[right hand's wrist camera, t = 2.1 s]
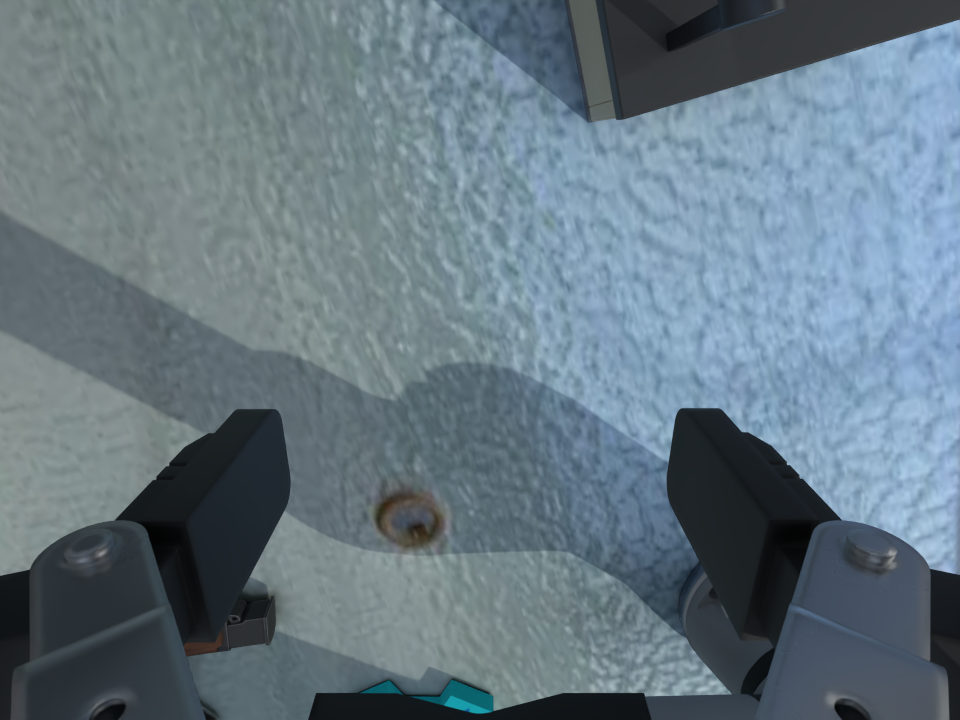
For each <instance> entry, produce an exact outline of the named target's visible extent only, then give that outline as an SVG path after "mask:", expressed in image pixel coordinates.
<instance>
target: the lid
mask: <svg viewBox="0 0 960 720" xmlns="http://www.w3.org/2000/svg"><path fill="white" fill-rule="evenodd" d="M595 1H596V6H597V12H598V18H599V24H600V29H601V35H602V41H603V47H604V53H605V58H606V64H607V70H608V76H609V81H610V87H611V93H612V99H613V105H614V110H615V116H616V119H617V120H622V119H627V118H630V117H634V116H637V115H640V114H644V113H647V112H650V111H654V110H657V109H660V108H664V107H667V106H671V105H674V104H677V103H681V102H684V101H687V100H691V99H694V98H697V97H701V96H704V95H707V94H711V93H714V92H718V91H721V90H724V89H728V88H731V87H734V86H738V85H741V84H744V83H748V82H751V81H755V80H758V79H761V78H765V77H768V76H771V75H775V74H778V73H781V72H785V71H788V70H792V69H795V68H798V67H802V66H805V65H808V64H812V63H815V62H818V61H822V60H825V59H829V58H832V57H835V56H839V55H842V54H845V53H849V52H852V51H855V50H859V49H862V48H865V47H869V46H872V45H876V44H879V43H882V42H886V41H889V40H892V39H896V38H899V37H902V36H906V35H909V34H913V33H916V32H919V31H923V30H926V29H929V28H933V27H936V26H939V25H943V24H946V23H950V22H953V21H956V20H960V0H595Z"/></svg>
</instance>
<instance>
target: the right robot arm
mask: <svg viewBox="0 0 960 720" xmlns="http://www.w3.org/2000/svg"><path fill="white" fill-rule="evenodd" d="M667 493H668V498H669V502H670V505H671V507H672V509H673V511H674V513H675V515H676V517H677V519H678V521H679V523H680V524H681V526H682V528H683V530H684V532H685V534H686V536H687V538H688V540H689V542H690V544H691V546H692V548H693V549H694V551H695V553H696V555H697V557H698V559H699V561H700V563H701V565H702V567H703V569H704V571H705V573H706V575H707V576H708V578H709V580H710V582H711V584H712V586H713V588H714V590H715V592H716V594H717V596H718V598H719V600H720V601H721V603H722V605H723V607H724V609H725V611H726V613H727V615H728V617H729V619H730V621H731V623H732V625H733V626H734V628H735V630H736V632H737V634H738V636H739V638H740V640H741V641H770V642H771V644H772V646H773V648H774V649H775V654H774V657H773V660H772V663H771V667H770V670H769V673H768V676H767V680H766V683H765V686H764V689H763V693H762V696H761V699H760V702H759V706H758V709H757V712H756V715H755V719H754V720H960V575H957V574H952V573H947V572H942V571H937V570H933V569H930V568H929V566H928V564H927V562H926V561H925V559H924V558H923V557H922V556H921V555H920V554H919V553H918V552H917V551H916V550H915V549H914V548H913V547H911V546H910V545H909V544H907V543H906V542H904V541H903V540H901V539H899V538H898V537H896V536H894V535H892V534H890V533H888V532H886V531H883V530H881V529H878V528H876V527H873V526H869V525H866V524H862V523H858V522H852V521H842V520H841V519H840V518H839V517H838V516H837V514H836V513H835V512H834V511H833V510H832V509H831V508H830V507H829V506H828V505H827V504H826V503H825V502H824V501H823V500H822V499H821V498H820V497H819V496H818V494H817V493H816V492H815V491H814V490H813V489H812V488H811V487H810V486H809V485H808V484H807V483H806V482H805V481H804V480H803V479H800V478H799V474H798V473H797V472H796V471H795V470H794V469H793V468H792V467H791V466H790V465H787V462H786V461H785V460H784V459H783V458H782V456H781V455H780V454H779V453H778V452H777V451H776V450H775V449H774V448H773V447H772V446H771V445H769V444H767V443H765V442H764V441H762V440H760V439H759V438H757V437H755V436H753V435H752V434H750V433H748V432H741V431H740V430H739V428H738V427H737V426H736V425H735V424H734V423H733V422H732V421H731V419H730V418H729V417H728V416H727V415H726V414H725V413H724V412H723V411H722V410H721V409H719V408H682V409H680V410H679V411H678V413H677V415H676V418H675V424H674V431H673V438H672V444H671V451H670V458H669V465H668V471H667ZM289 495H290V471H289V465H288V458H287V452H286V445H285V438H284V432H283V425H282V419H281V416H280V414H279V412H278V411H277V410H276V409H237V410H235V411H234V412H233V413H232V414H231V415H230V417H229V418H228V419H227V420H226V421H225V422H224V423H223V424H222V425H221V427H220V428H219V429H218V430H217V431H216V432H215V433H208V434H207V435H205V436H203V437H201V438H200V439H198V440H196V441H194V442H193V443H191V444H189V445H188V446H186V447H184V448H183V449H182V450H181V452H180V453H179V454H178V455H177V456H176V457H175V458H174V459H173V460H172V461H171V462H170V463H169V466H166V467H165V468H164V469H163V470H162V471H161V472H160V473H159V475H158V476H157V479H156V480H153V481H152V482H151V483H150V484H149V485H148V486H147V487H146V488H145V489H144V490H143V491H142V492H141V493H140V494H139V495H138V496H137V498H136V499H135V500H134V501H133V502H132V503H131V504H130V505H129V506H128V507H127V508H126V509H125V510H124V511H123V512H122V513H121V514H120V515H119V516H118V517H117V518H116V519H115V521H108V522H102V523H98V524H94V525H91V526H87V527H84V528H82V529H79V530H77V531H74V532H72V533H70V534H68V535H66V536H64V537H62V538H61V539H59V540H57V541H56V542H54V543H53V544H51V545H50V546H49V547H47V548H46V549H45V550H44V551H43V552H42V553H41V554H40V555H39V556H38V557H37V558H36V559H35V561H34V562H33V564H32V566H31V568H30V570H26V571H22V572H17V573H12V574H7V575H2V576H0V720H206V719H205V715H204V712H203V709H202V706H201V702H200V699H199V696H198V693H197V689H196V686H195V683H194V680H193V676H192V673H191V670H190V667H189V663H188V660H187V657H186V654H185V650H184V645H185V643H215V641H216V640H217V638H218V636H219V634H220V632H221V630H222V628H223V626H224V624H225V622H226V621H227V619H228V617H229V615H230V613H231V611H232V609H233V607H234V605H235V603H236V602H237V600H238V598H239V596H240V594H241V592H242V590H243V588H244V586H245V584H246V583H247V581H248V579H249V577H250V575H251V573H252V571H253V569H254V567H255V565H256V564H257V562H258V560H259V558H260V556H261V554H262V552H263V550H264V548H265V546H266V544H267V543H268V541H269V539H270V537H271V535H272V533H273V531H274V529H275V527H276V525H277V524H278V522H279V520H280V518H281V516H282V514H283V512H284V510H285V508H286V506H287V503H288V500H289ZM308 720H652V719H651V716H650V712H649V709H648V705H647V702H646V699H645V695H644V693H562V694H558V695H554V696H550V697H546V698H543V699H539V700H535V701H531V702H527V703H523V704H520V705H516V706H512V707H508V708H504V709H500V710H496V711H493V712H488V713H472V712H467V711H464V710H460V709H456V708H452V707H448V706H444V705H440V704H437V703H433V702H429V701H425V700H421V699H417V698H414V697H410V696H406V695H402V694H398V693H316V695H315V699H314V702H313V705H312V709H311V712H310V716H309V719H308Z"/></svg>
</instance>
